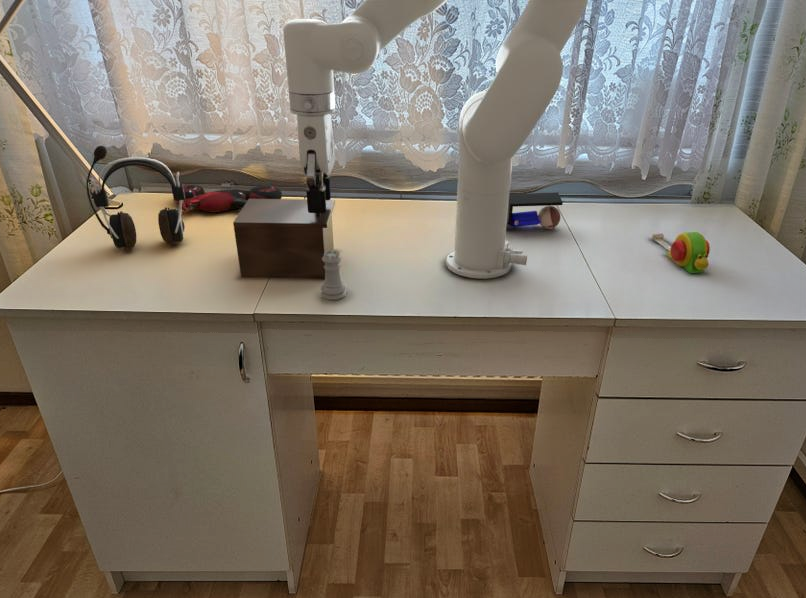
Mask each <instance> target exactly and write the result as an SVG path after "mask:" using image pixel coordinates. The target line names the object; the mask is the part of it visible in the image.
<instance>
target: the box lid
mask: <svg viewBox="0 0 806 598" xmlns="http://www.w3.org/2000/svg"><path fill="white" fill-rule="evenodd" d="M323 190H326V184H325V183H324V182H323ZM335 206H336V199H330V200H326V213H309V212H308V206H307V199H297V198H296V199H292V198H290V199H289V198H281V199H248V201H247V202H246V204H245V205H244V207H243V208H241V209H240V211H239V213H238V215H236V217H235V219H234V220H233V223H232V224H233V225H232V226H233V227H234V226H235V227H300V228H327V227H328V224H329V221H330V218H331V215H332V214H333V212H334V208H335ZM332 216H333V215H332Z"/></svg>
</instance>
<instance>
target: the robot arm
mask: <svg viewBox="0 0 806 598" xmlns="http://www.w3.org/2000/svg"><path fill="white" fill-rule="evenodd" d="M448 1H449V0H363V2H362V3H361V4H359V6H358V7H356V8H355V9H354V10H353V11H352V12H351V13H350V14H348V16H347V17H346V18H344V19H343V20H342V22H337V23H327V22H326V21H325V20H322V19H316V18H295V19H290V20H287V21H286V22H285V24H284V25H283V30H282V31H283V32H282V33H283V34H282V35H283V44H284V56H285V66H286V67H285V68H286V79H287V89H288V101H289V111H290V113H291V114H293V115H296V122H297V128H296V129H297V138H298V139H297V140H298V151H299V152H298V153H299V154H298V155H299V162H300V163H299V164H300V169H301V173H302V174H303V175H306V177H305V178H306V183H305V184H306V185H305V186H306V191H305V192H306V193H305V195H306V200H307V206H308V212H309V213H326V200H332V199H331V198H332V194H331V179H330V174H331V173H332V171H333V169H334V166H335V162H336V152H335V143H334V132H333V121H332V114H334V113H336V98H335V97H336V96H335V82H334V81H335V80H334V79H335V78H334V71H336V72H341V73H342V72H343V73H347V74H361V73H365V72H367V71H368V70H370V69H371V68H372V67H373V66H374V64H375V63H376V60H377V58H378V55H379V53H380V52H382V51H383V49H385V48H386V47H387V46H388V45H389V44H391V42H392V41H394V39H396V38H398V36H399V35H400V34H401V33H403V32H404V31H405V30H406V29H407V28H409V27H410V26H411V25H412V24H414V23H415V22H417V21H418V20H419V19H421V18H423V17H426V16H428V15H430V14H432V13H434V12H435V11H437V10H438V9H439V8H441V7H442V6H443V5H445V3H447V2H448ZM588 2H589V0H528V2H527V3H526V6H525V8H523V11H522V13H521V14H520V16H519V18H518V19H517V21H516V23H515V24H514V26H513V27H512V29H511V31H510V32H509V34H508V36H507V38H506V39H505V41H504V42H503V43H502V45H501V46H500V48H499V50H498V53H497V55H496V58H495V71H496V74H495V75H494V78H493V79H492V81H491V82H490V84H489V86H488V88H487V90H482V91H479V92H477V93H474V94H473V95H471V96H470V97H469V98H468V99H467V100H466V102H465V103H464V104H463V107H462V109H461V111H460V114H459V120H458V169H457V188H456V189H457V190H456V211H455V236H454V251H452V252H450V253H449V254H448V255H447V256H446V259H445V265H446V267H447V269H448V270H450V271H451V273H454V274H456V275H458V276H461V277H465V278H470V279H478V280H482V279H484V280H486V279H494V278H498V277H501V276H504V275H507V273H509V272H510V271H511V269H512V264H516V265H521V266H527V262H528V254H523V251H524V250H520V249H512V248H511V247H509V241H508V240H506V237H507V229H506V227H508V225H507V215H508V203H509V194H510V193H511V192H510V191H511V185H512V171H513V157H514V156H515V155H516V154H517V153H518V152H519V150H520V149H522V147H523V146H524V144H525V142H526V141H527V140H528V138H529V136H530V134H531V133H532V132H533V130H534V129H535V127H536V125H538V122H539V121H540V119H541V118H542V116H543V114H544V113H545V111H546V110H547V108H548V107H549V105H550V104H551V102H552V100H553V98H554V97H555V95H556V93H557V92H558V89H559V87H560V85H561V81H562V77H563V71H564V69H563V68H564V67H563V65H564V64H563V59H562V56H561V52H562V51H563V49H564V48H565V46H566V44H567V42H568V41H569V39H570V38H571V36H572V33H573V31H574V30H575V28H576V27H577V24H578V23H579V21H580V19H581V17H582V16H583V14H584V11H585V9H586V7H587V6H588ZM323 182H324V183H325V184H326V190H323Z"/></svg>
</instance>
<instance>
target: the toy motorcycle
mask: <svg viewBox="0 0 806 598" xmlns="http://www.w3.org/2000/svg"><path fill="white" fill-rule="evenodd" d="M182 185H183V184H182ZM183 188H184V193H185V200H182V211H183V212H186V213H188V212H189V211H188V209H189V210H196V209H201V210H203V211H206V212H209V213H220V212H224V211H230V210H235V209H242V208H243V207H244V205H245V204H246V202H247V201H248V199H283V193H282V191H281V189H280V188H279V187H277V186H274V185H272V184H261V185H256V186H253V187H252V188H251V189H239V188H233V189H231V188H230V189H229V188H228V189H219V190H215V191H209V192H205V189H204V188H203V186H201V185H197V184H184V185H183ZM175 202H176V203H175V204H176V205H177V207H178V208H179V201H175Z"/></svg>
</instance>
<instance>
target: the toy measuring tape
mask: <svg viewBox="0 0 806 598" xmlns="http://www.w3.org/2000/svg"><path fill="white" fill-rule="evenodd" d="M651 237H652V241H655V242H656V243H658V244H660V245H661V246H662V248H664V249H665V250H667V251H668V252H667V257H668V258H670V259H671V260H672V262H674V263H675V264H676V265H678V266H680V267H682V268H684V269H685V270H686V271H687V272H688V273H689V274H700V273H703V272H704V270H705V269H707V268H708V266H709V260H708V258H709V255H710V253H711V251H710V250H711V247H710V242H709V241H708V240H707V239H706V238H705V236H704V235H703V234H702V233H700V232H698V231H689V232H688V231H687V232H683V233H680V234H678V235H677V236H676V238H675V240H674V241H673V242H672V243H671V245H670V244H669V243H668V242H666V241H665V240H664V237H665V236H664V233H661V232H660V233H653V234H652V235H651Z"/></svg>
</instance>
